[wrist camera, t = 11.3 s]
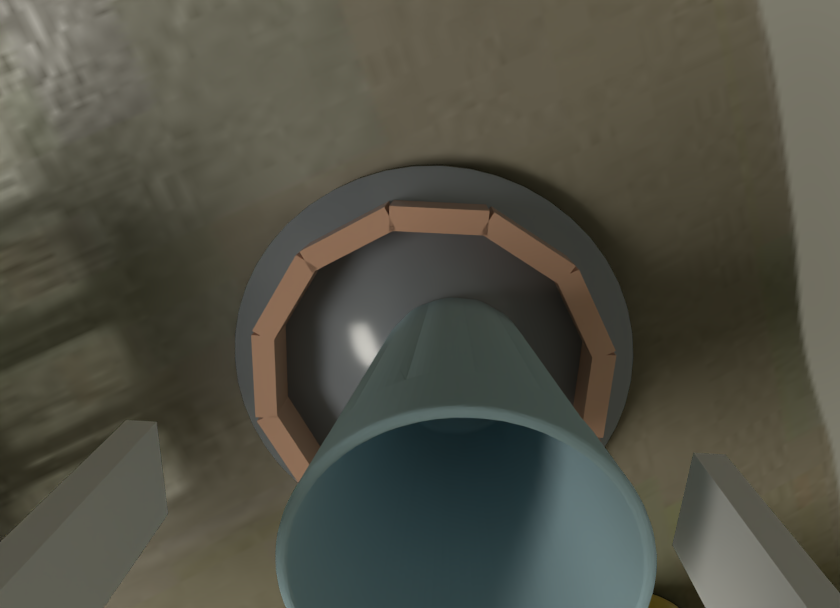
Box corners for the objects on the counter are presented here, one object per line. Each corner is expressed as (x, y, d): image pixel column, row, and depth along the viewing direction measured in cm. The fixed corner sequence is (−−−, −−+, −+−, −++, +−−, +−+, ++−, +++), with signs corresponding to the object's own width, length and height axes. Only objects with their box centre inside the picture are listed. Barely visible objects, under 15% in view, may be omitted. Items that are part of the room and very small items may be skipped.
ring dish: (230, 155, 20) (204, 158, 18) (657, 174, 20) (683, 181, 17) (251, 509, 25) (232, 547, 22) (597, 532, 24) (612, 572, 22)
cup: (469, 221, 20) (492, 327, 10) (600, 375, 21) (735, 602, 11) (313, 351, 21) (198, 553, 11) (445, 484, 23) (444, 762, 13)
